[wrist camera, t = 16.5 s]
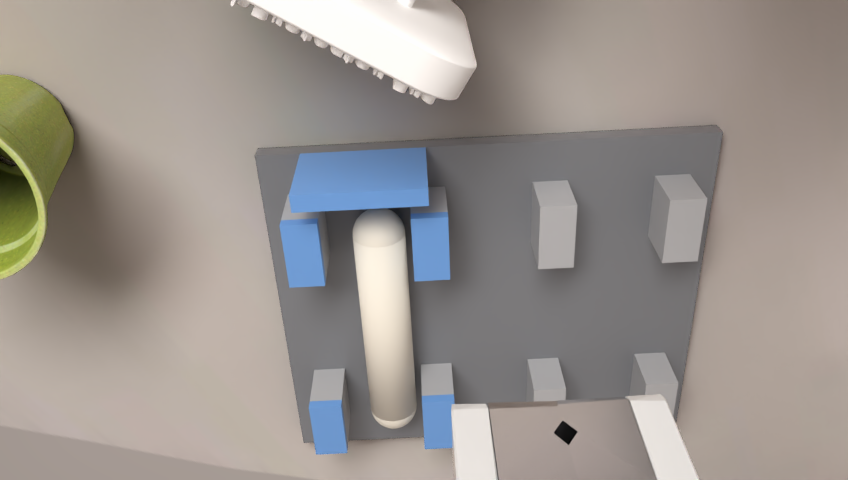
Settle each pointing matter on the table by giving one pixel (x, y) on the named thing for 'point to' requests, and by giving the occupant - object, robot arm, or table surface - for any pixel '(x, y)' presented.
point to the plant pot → (28, 167)
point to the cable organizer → (386, 38)
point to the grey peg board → (494, 268)
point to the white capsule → (385, 315)
